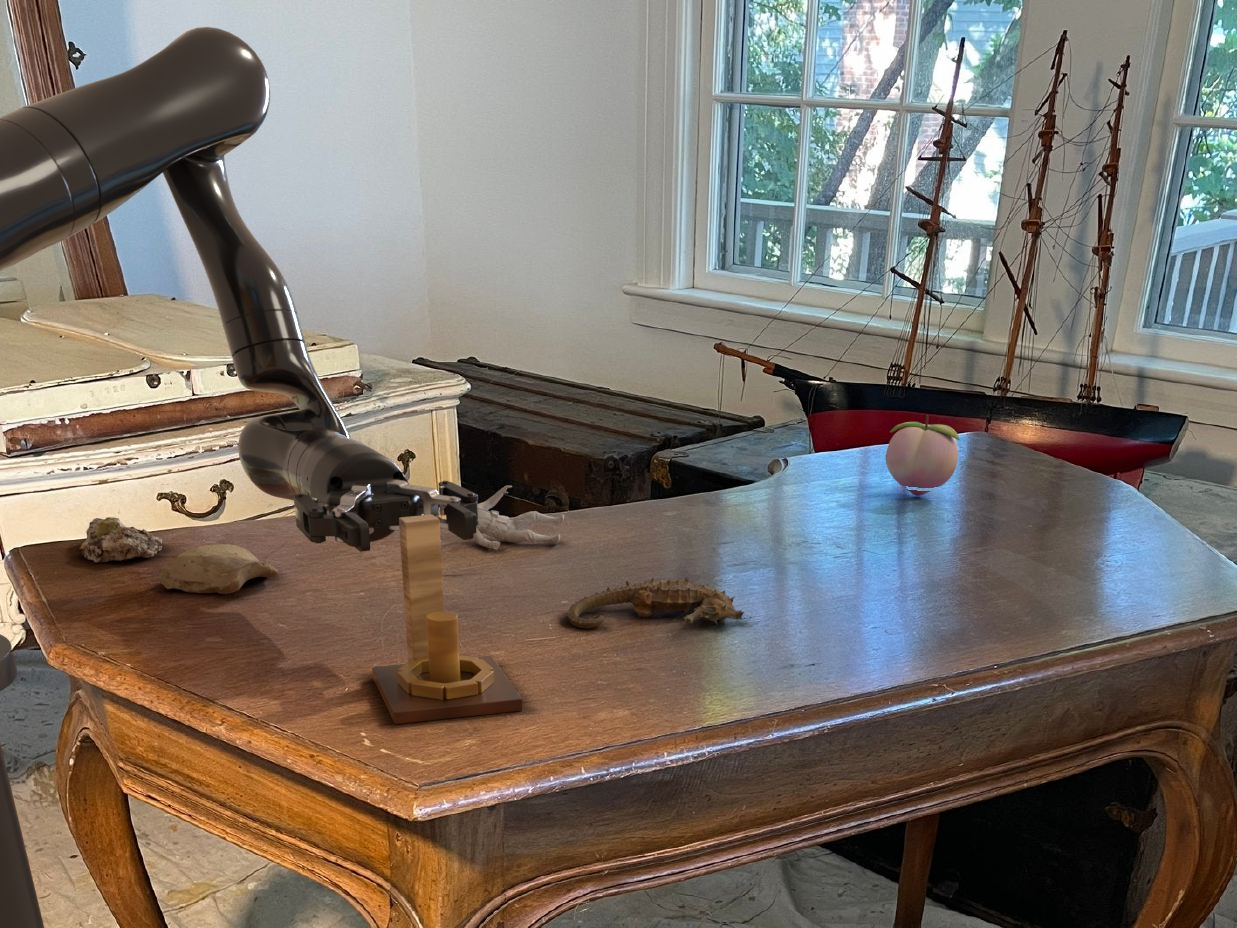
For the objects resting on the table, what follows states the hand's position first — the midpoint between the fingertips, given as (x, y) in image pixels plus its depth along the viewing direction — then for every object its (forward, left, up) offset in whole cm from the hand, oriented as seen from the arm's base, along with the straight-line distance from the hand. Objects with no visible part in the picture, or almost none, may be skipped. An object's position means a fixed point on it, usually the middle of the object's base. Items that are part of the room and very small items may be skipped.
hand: (418, 532), depth 101 cm
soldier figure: (+17, +38, -12) cm, 43 cm away
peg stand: (+1, -4, -12) cm, 13 cm away
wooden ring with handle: (+1, -4, -11) cm, 12 cm away
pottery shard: (-13, +30, -12) cm, 35 cm away
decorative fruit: (+74, +47, -12) cm, 88 cm away
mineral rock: (-23, +44, -12) cm, 51 cm away
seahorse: (+24, +9, -12) cm, 28 cm away
